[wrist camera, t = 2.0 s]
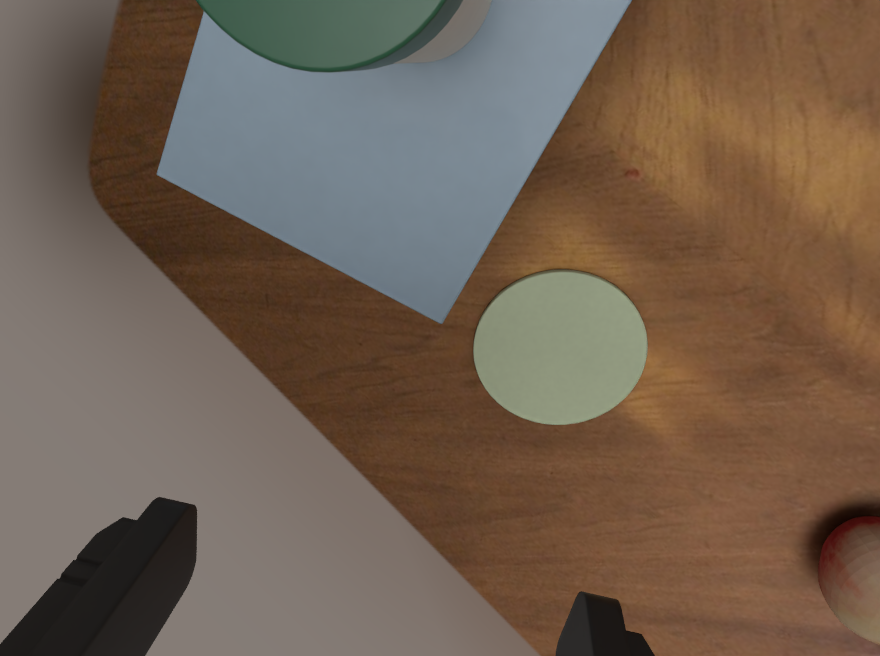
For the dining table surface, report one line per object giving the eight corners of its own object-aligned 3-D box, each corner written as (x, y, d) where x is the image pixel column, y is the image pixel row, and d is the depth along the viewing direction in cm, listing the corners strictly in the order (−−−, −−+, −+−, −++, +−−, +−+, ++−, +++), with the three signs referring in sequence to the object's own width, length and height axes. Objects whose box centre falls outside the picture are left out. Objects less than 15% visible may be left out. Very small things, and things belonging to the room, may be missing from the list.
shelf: (286, 132, 34) (155, 175, 22) (445, -284, 26) (382, -610, 13) (466, 230, 36) (441, 325, 23) (672, -137, 27) (812, -307, 15)
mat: (444, 374, 40) (443, 378, 39) (529, 237, 35) (529, 239, 35) (583, 446, 41) (583, 450, 41) (682, 322, 36) (684, 325, 36)
